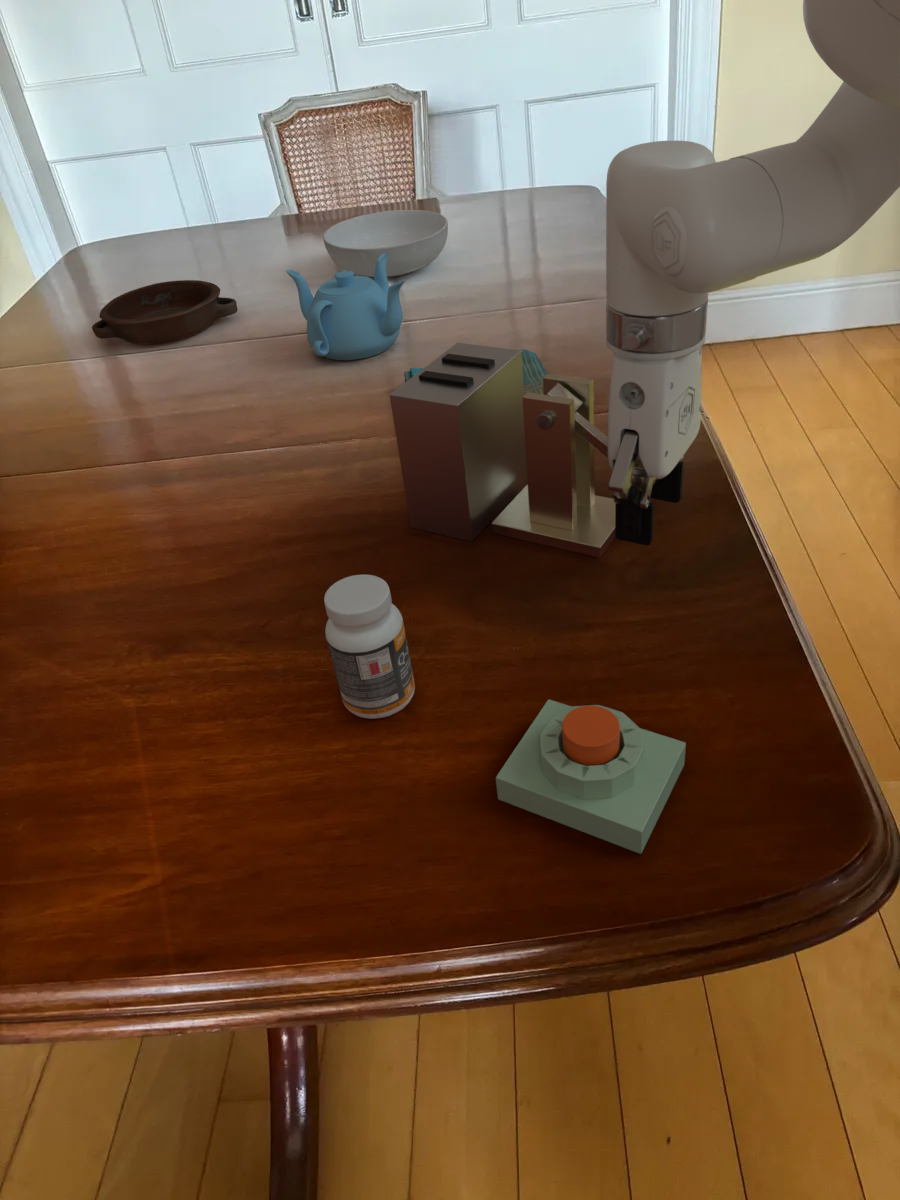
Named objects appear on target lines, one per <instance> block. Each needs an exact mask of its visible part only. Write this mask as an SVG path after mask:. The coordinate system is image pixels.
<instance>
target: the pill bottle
mask: <svg viewBox="0 0 900 1200" xmlns="http://www.w3.org/2000/svg"><path fill="white" fill-rule="evenodd" d="M323 601H324V602H323V603H324V607H325V611H326V615H327V618H328V620H326V621H327V622H326V624H325V629H324V630H325V631H324V633H325V634H324V635H325V640H326V644H327V647H328V651H329V656H330V659H331V662H332V666H333V671H334V674H335V678H336V682H337V686H338V689H339V693H340V696H341V697H340V698H341V700H342V703H343V705H344V707H345V708H346V710H348V712H350V713H351V714H353V715H355V716H357V717H359V718H363V719H370V720H372V719H383V718H388V717H391V716H392V715H395V714H397V713H399V712H401V711H402V710H403V709H404V708H405V707H406V706H408V704H409V703H410V702H411V700H412V698H413V697H414V694H415V690H416V684H415V677H414V671H413V667H412V662H411V661H412V660H411V656H410V651H409V646H408V645H409V644H408V640H407V633H406V629H405V623H404V618H403V616H402V612H401V611H400V610H399V608H397V606H396V605H395V604H394V603H393V600H392V593H391V590H390V586H389V584H388V583H387V581H386V580H385V579H383V578H381V577H379V576H377V575H374V574H355V575H349V576H347V577H343V578H342V579H339V580H337V581H336V582H334V583H333V584H331V585H330V586H329V587H328V589H327V590H326V592H325V593H324V597H323Z"/></svg>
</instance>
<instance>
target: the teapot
mask: <svg viewBox="0 0 900 1200" xmlns="http://www.w3.org/2000/svg"><path fill="white" fill-rule="evenodd" d="M388 255H389V254H388V253H384V254H382V255H381V256H380V257H379V258H378V260H377V263H376V267H375V274H374V277H373V278H372V277H365V276H359V275H355V274H354V272H353V271H345V270H341V271H338V272H336V273H334V275H333V276H334V278H332V279H330V280H328V281H325V282H323V283H322V284H320V286H318V287H317V290H316V291H315V294H314V295H313V293H312V292H311V289H310V287H309V284H308V282H307V280H306V279H305V277H304V276H303V275H302V274H301V273H299V272H298V271H296V270H293V269H286V270H285V273H287V275H289V277H290V278H291V279H292V280H293V282H294V284H295V286H296V289H297V293H298V301H299V308H300V311H301V313H302V317H303V318H304V319H305V321H306V337H307V342H308V344H309V345H310V347H311V348H312V352H313V353H314V355H316V356H318V357H324V358H326V359H329V360H335V361H354V360H361V359H366V358H370V357H373V356H376V355H378V354H381V353H383V352H385V351H386V350H389V348H390V347H391V346H392V345H393V344H394V343H395V341H396V339H397V338H398V336H399V334H400V332H401V328H402V327H401V326H402V323H403V318H404V317H403V316H404V315H403V308H402V303H401V300H400V291H401V288H402V286H403V285H404V284H405V282H406V281H405V280H402V281H399V282H395V283H392V284H391V285H390V283H389V280H388V279H389V278H387V274H386V262H387V259H388Z"/></svg>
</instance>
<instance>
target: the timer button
mask: <svg viewBox="0 0 900 1200" xmlns="http://www.w3.org/2000/svg"><path fill="white" fill-rule="evenodd" d="M582 706H583V707H579V708H576V709H574V710H572V711H571V712H569V713H568V714H567V715H566V717H565V718H564V720H563V723H562V734H563V748H564V751H565V753H566V754H567V755H568V756H569V757H570V758H571V759H572V760H574V761H576V762H578V763H580V764H584V765H600V764H603V763H606V762H608V761H610V760H611V759H612V758H614V757H615V755H616V754H617V752H618V750H619V742H620V725H619V721H618V719H617V718H616V716H615V715H614V714H613V713H612V712H610V711H609V710H607V709H605V708H602V707H598V706H586V705H582Z"/></svg>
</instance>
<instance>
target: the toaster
mask: <svg viewBox="0 0 900 1200" xmlns="http://www.w3.org/2000/svg"><path fill="white" fill-rule="evenodd" d="M521 350H522V349H512V348H505V347H497V346H488V345H487V346H486V345H481V344H480V345H479V344H471V343H463V342H456V343H454V344H453V345H452V346H451V347H449V348H448V349H446V350H445V352H443V353H442V354H440V355H439V356H437V358H435V359H434V360H432V361H431V362H430V363H429V364H427V365H425V366H424V367H422V368H423V369H422V370H421V371H420V372H418V373H417V374H416V375H414V376H413V377H412V378H410V379H409V380H408V381H406V382H405V381H404V383H402V384H401V385H400V386H399V387H397V388H396V389H395V390H393V391H392V392H390V394H389V399H390V406H391V413H392V420H393V426H394V431H395V433H394V434H395V439H396V445H397V450H398V451H397V452H398V457H399V463H400V470H401V476H402V481H403V483H402V484H403V489H404V495H405V502H406V508H407V513H408V514H407V515H408V520H409V527H410V528H412V529H416V530H419V531H425V532H429V533H432V534H437V535H442V536H444V537H450V538H453V539H458V540H463V541H466V542H470V543H473V542H474V541H475V540H476V539H477V538H478V537H479V536H480V535H481V534H482V533H483V531H485V529H486V528H487V527H488V526H489V525H490V524H492V522H493V521H494V520H495V519H496V518H497V517H498V515H499V514H500V513H501V512H502V511H503V510H504V509H505V508H506V507H507V506H508V505H509V504H510V502H511V501H512V500H513V499H514V498H515V497H516V496H517V495H518V494H519V493H520V492H521V491H522V489H523V488H524V487H525V486H526V485H527V484H528V481H527V465H526V448H525V432H524V415H523V399H522V397H523V396H524V384H523V367H522V351H521Z"/></svg>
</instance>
